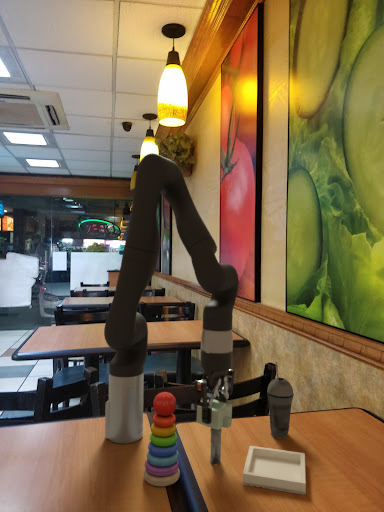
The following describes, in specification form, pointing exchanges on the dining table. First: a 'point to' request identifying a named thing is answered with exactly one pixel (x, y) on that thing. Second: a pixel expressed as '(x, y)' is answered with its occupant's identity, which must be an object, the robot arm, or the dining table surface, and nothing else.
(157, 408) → the stacking toy
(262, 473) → the tray
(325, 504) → the dining table surface
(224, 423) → the pale green hollow block
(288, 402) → the beverage cup
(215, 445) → the post
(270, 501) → the dining table surface
